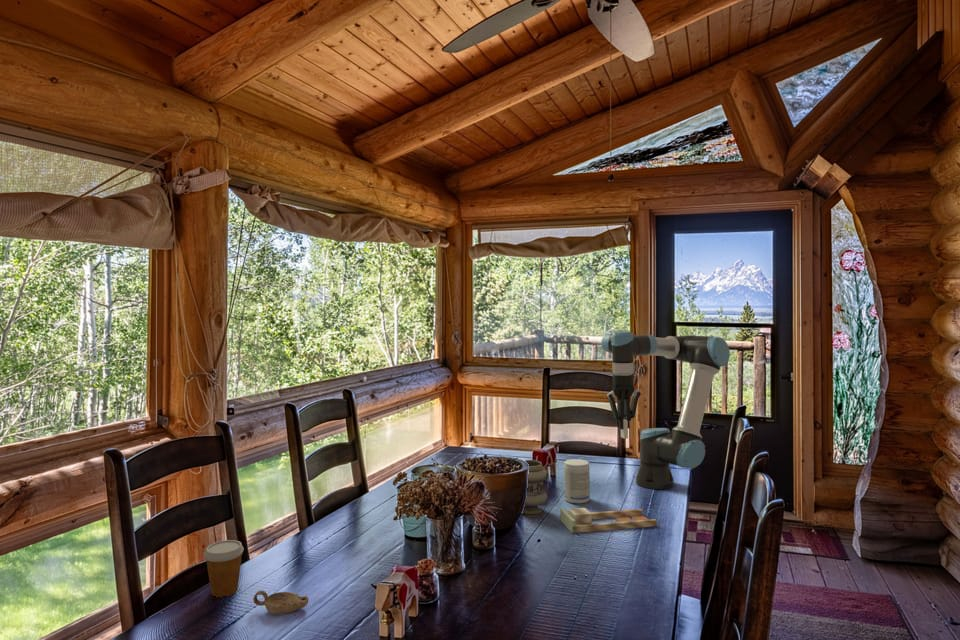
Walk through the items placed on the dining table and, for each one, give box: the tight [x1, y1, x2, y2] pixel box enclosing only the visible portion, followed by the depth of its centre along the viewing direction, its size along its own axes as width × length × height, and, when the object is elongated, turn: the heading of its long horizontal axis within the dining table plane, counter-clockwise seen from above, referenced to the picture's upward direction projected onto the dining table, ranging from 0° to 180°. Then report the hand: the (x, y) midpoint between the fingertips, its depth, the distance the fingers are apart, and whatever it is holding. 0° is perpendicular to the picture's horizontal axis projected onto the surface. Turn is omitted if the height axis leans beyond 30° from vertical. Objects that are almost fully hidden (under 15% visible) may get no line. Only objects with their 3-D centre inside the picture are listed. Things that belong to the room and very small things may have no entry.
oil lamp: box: [252, 590, 309, 616], centre depth 147 cm, size 13×8×5 cm, turn 90°
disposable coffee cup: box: [203, 539, 244, 598], centre depth 157 cm, size 10×10×12 cm
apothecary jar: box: [521, 459, 548, 518], centre depth 217 cm, size 12×12×18 cm
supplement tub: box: [563, 458, 591, 505], centre depth 230 cm, size 10×10×15 cm
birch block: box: [567, 507, 593, 525], centre depth 204 cm, size 6×6×5 cm
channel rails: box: [571, 508, 658, 534], centre depth 206 cm, size 30×11×2 cm, turn 101°
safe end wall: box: [559, 508, 575, 534], centre depth 203 cm, size 1×11×4 cm, turn 11°
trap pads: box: [613, 514, 649, 522], centre depth 208 cm, size 11×8×1 cm
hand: (624, 437), depth 221 cm, fingers closed
